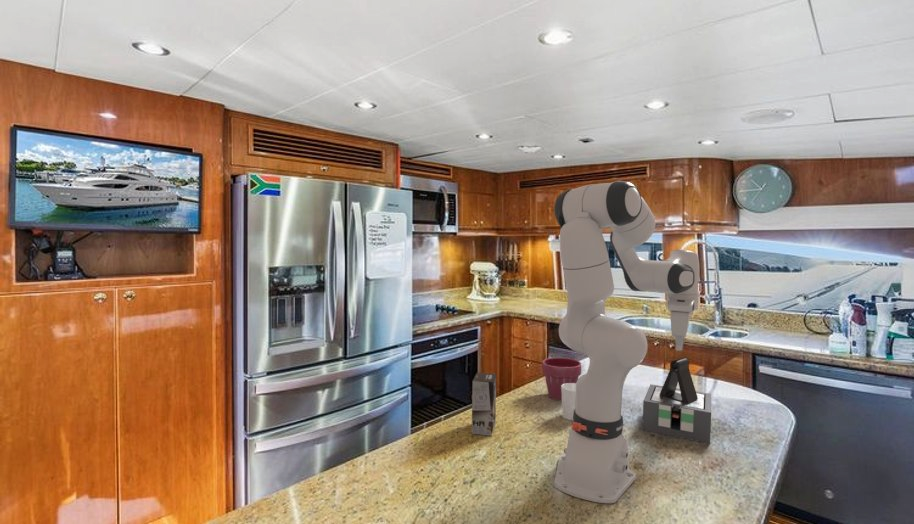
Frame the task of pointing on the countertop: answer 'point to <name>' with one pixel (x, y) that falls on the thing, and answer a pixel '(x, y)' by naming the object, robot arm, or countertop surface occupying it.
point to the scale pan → (677, 404)
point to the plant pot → (560, 374)
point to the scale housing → (687, 425)
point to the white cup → (568, 399)
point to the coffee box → (484, 403)
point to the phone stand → (683, 377)
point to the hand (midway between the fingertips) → (679, 346)
